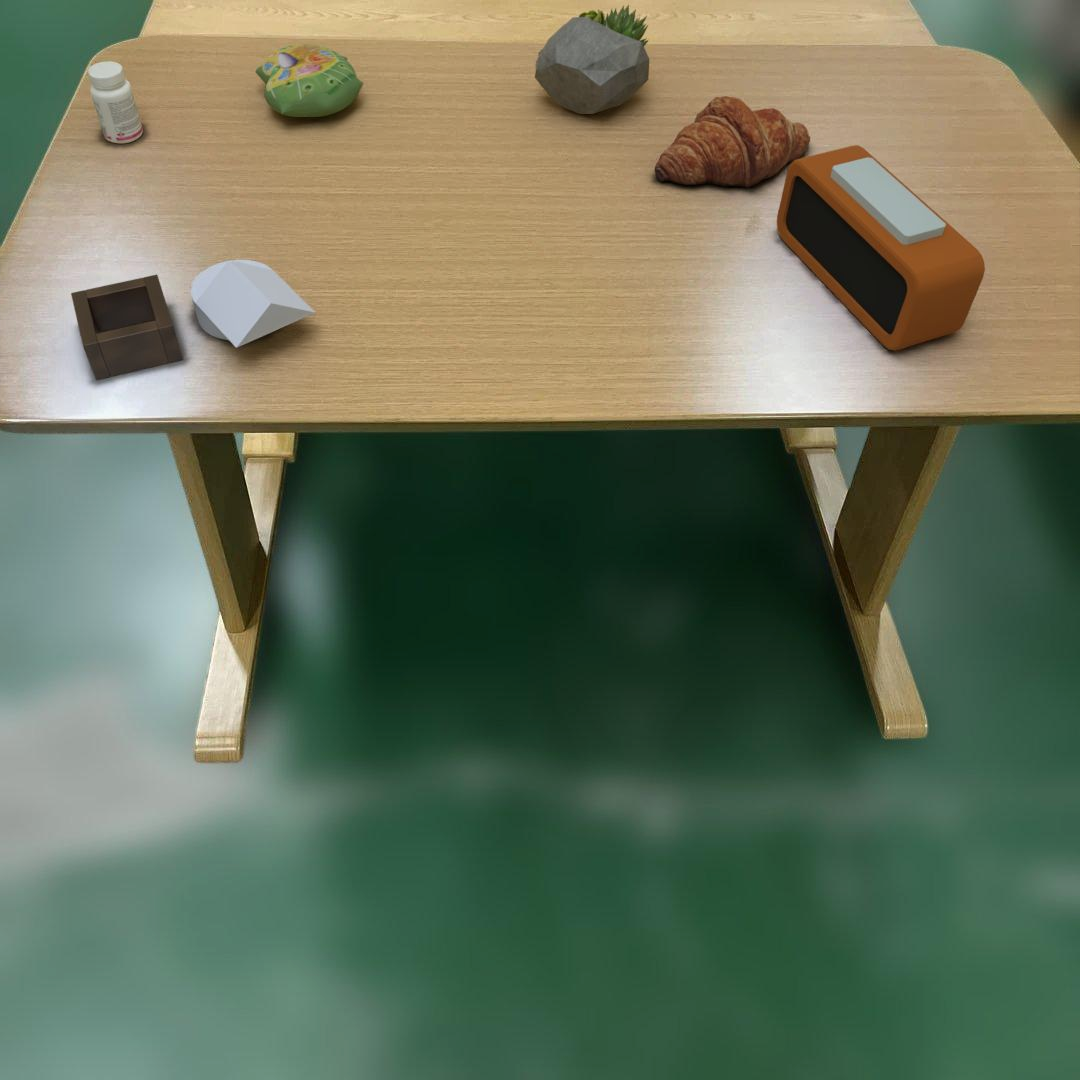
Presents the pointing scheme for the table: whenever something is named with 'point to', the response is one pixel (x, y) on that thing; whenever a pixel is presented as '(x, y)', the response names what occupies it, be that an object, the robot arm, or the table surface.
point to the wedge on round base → (244, 301)
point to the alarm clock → (878, 247)
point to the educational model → (308, 81)
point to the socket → (129, 343)
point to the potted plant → (594, 61)
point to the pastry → (732, 146)
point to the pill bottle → (114, 103)
